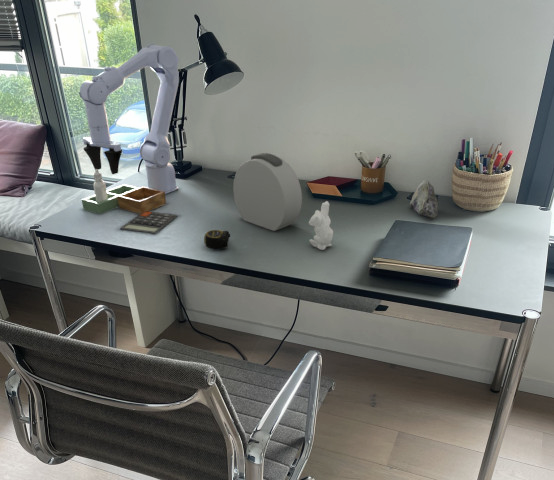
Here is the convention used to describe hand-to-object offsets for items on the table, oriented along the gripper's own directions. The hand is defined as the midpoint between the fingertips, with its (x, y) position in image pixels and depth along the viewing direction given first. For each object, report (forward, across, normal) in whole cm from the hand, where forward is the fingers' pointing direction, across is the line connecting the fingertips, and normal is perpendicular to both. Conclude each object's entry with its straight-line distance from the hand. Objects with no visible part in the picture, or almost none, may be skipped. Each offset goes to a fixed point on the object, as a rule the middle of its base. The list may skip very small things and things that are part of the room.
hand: (106, 171), depth 178 cm
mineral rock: (+10, +88, +47) cm, 101 cm away
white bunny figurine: (+11, +74, +8) cm, 76 cm away
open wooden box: (+10, +10, +4) cm, 15 cm away
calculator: (+11, +22, -5) cm, 25 cm away
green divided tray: (+10, 0, 0) cm, 11 cm away
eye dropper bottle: (+11, 0, -4) cm, 11 cm away
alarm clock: (+11, +52, +15) cm, 55 cm away
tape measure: (+11, +50, -7) cm, 52 cm away
